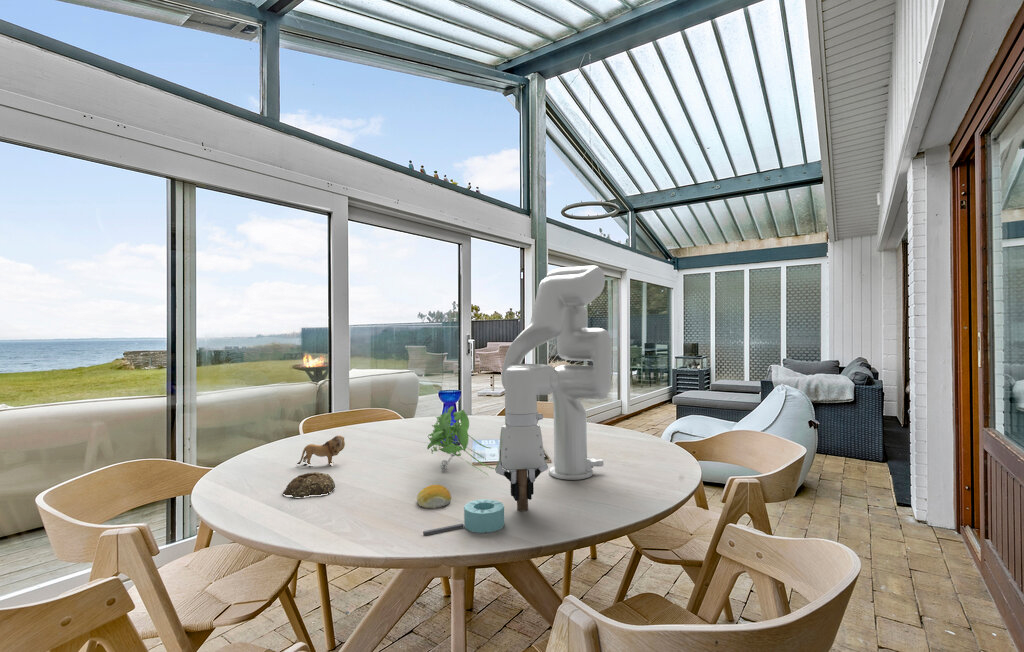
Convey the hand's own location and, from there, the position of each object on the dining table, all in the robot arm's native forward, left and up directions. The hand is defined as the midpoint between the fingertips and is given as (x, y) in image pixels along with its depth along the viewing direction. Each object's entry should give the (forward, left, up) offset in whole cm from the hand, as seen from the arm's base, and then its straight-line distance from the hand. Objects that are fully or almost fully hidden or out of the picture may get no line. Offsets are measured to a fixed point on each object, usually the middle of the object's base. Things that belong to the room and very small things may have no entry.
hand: (522, 497), depth 114 cm
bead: (+10, +7, -3) cm, 12 cm away
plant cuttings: (+11, -37, -3) cm, 39 cm away
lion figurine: (+53, -53, -3) cm, 75 cm away
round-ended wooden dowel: (0, 0, -3) cm, 3 cm away
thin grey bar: (+19, +8, -3) cm, 21 cm away
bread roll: (+20, -10, -3) cm, 22 cm away
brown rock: (+52, -27, -3) cm, 59 cm away
